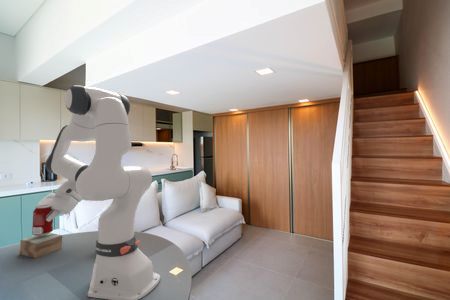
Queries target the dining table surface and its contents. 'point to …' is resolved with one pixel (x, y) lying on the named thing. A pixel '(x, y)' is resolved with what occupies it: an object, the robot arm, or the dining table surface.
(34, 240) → the walnut pedestal
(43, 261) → the dining table surface
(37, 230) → the soda can
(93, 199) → the robot arm
